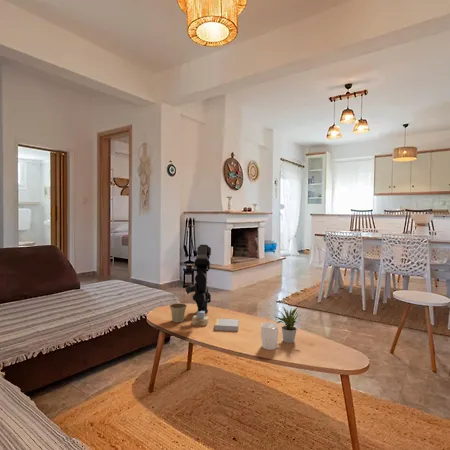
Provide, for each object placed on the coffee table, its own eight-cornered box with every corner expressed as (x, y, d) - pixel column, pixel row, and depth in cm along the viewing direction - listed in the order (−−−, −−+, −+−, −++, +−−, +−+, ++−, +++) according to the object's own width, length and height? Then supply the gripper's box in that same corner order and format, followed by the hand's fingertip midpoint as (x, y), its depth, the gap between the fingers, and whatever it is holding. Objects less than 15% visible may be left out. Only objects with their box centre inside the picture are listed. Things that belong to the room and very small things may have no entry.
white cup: (273, 352, 143) (274, 329, 142) (257, 347, 147) (258, 325, 147) (280, 346, 149) (281, 324, 149) (265, 342, 154) (265, 321, 153)
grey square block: (196, 318, 176) (196, 312, 176) (197, 316, 180) (197, 310, 180) (203, 318, 176) (203, 313, 176) (204, 316, 180) (204, 311, 180)
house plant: (282, 332, 167) (283, 301, 167) (307, 338, 159) (309, 305, 159) (269, 340, 156) (270, 307, 155) (296, 348, 148) (297, 312, 147)
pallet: (192, 325, 175) (192, 318, 175) (194, 321, 181) (194, 315, 181) (206, 325, 175) (207, 319, 174) (208, 322, 181) (208, 316, 180)
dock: (217, 322, 179) (217, 318, 179) (238, 324, 178) (238, 319, 178) (214, 329, 168) (215, 324, 168) (238, 331, 167) (238, 326, 167)
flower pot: (185, 324, 176) (185, 308, 176) (167, 323, 176) (168, 307, 176) (187, 318, 186) (187, 303, 185) (171, 318, 186) (171, 303, 185)
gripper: (190, 276, 187) (189, 303, 188) (183, 283, 169) (182, 313, 169) (209, 277, 186) (208, 304, 187) (204, 284, 168) (203, 314, 168)
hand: (200, 308), depth 178 cm, fingers open, 9 cm apart
